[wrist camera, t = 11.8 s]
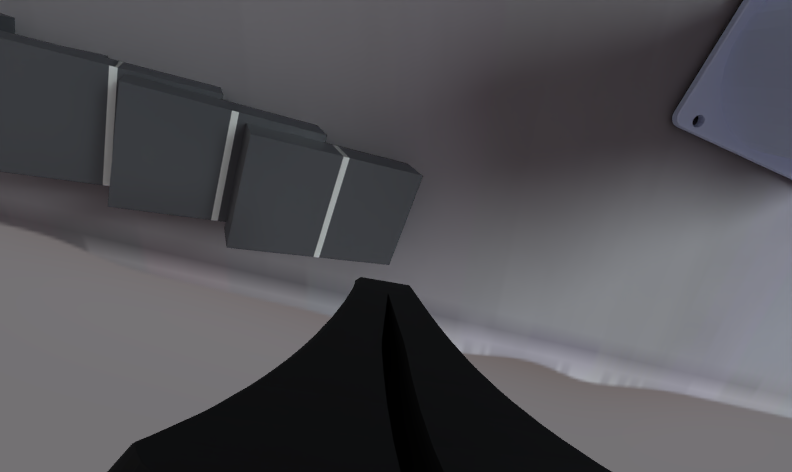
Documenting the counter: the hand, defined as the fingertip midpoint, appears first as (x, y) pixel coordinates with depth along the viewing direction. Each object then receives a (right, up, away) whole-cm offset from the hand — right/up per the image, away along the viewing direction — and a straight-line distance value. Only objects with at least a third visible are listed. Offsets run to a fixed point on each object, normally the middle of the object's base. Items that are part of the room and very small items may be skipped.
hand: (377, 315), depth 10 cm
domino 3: (+1, +3, +8) cm, 9 cm away
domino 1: (-7, +6, +7) cm, 12 cm away
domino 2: (-3, +4, +8) cm, 10 cm away
